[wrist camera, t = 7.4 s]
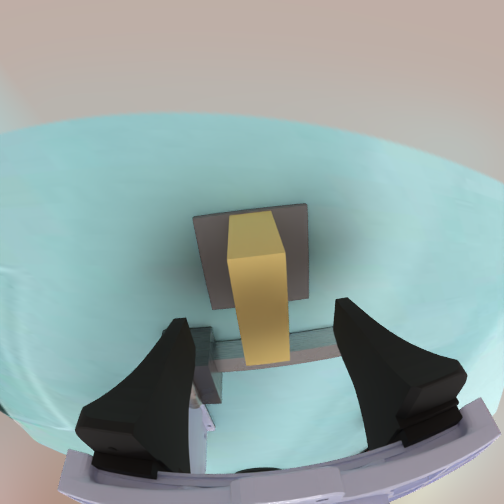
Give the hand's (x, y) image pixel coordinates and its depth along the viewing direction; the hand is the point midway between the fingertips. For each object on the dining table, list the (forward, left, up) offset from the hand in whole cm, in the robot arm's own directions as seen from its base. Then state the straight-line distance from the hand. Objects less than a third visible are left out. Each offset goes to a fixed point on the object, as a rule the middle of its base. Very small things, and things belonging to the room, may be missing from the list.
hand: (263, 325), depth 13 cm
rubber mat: (0, 0, -6) cm, 6 cm away
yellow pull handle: (0, 0, -6) cm, 6 cm away
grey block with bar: (-8, -1, -6) cm, 10 cm away
